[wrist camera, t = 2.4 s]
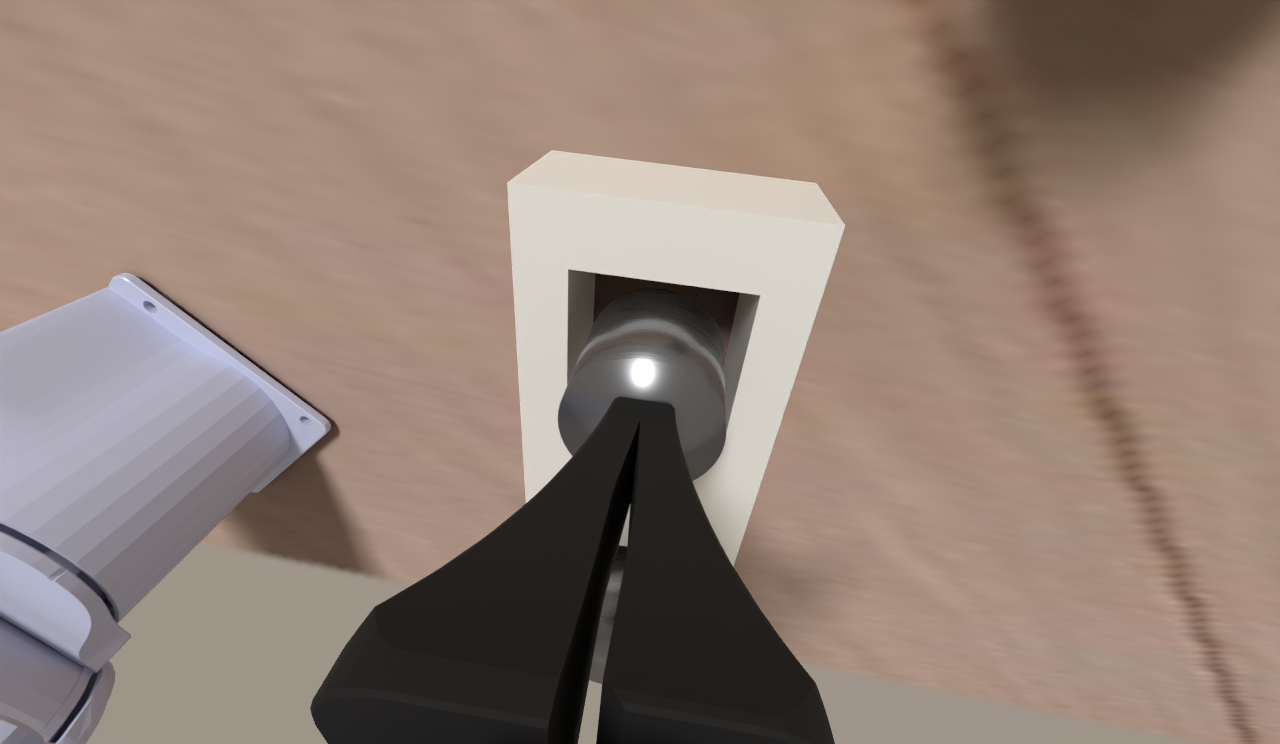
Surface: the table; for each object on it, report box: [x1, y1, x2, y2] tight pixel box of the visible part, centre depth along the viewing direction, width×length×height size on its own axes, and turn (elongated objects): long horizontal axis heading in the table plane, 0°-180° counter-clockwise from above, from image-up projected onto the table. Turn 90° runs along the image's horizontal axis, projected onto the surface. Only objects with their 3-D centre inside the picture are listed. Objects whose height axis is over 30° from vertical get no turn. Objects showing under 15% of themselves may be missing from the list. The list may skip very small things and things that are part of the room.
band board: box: [507, 150, 845, 566], centre depth 19 cm, size 20×8×4 cm, turn 174°
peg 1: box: [589, 545, 627, 684], centre depth 20 cm, size 4×4×4 cm
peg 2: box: [558, 289, 726, 481], centre depth 13 cm, size 4×4×4 cm
